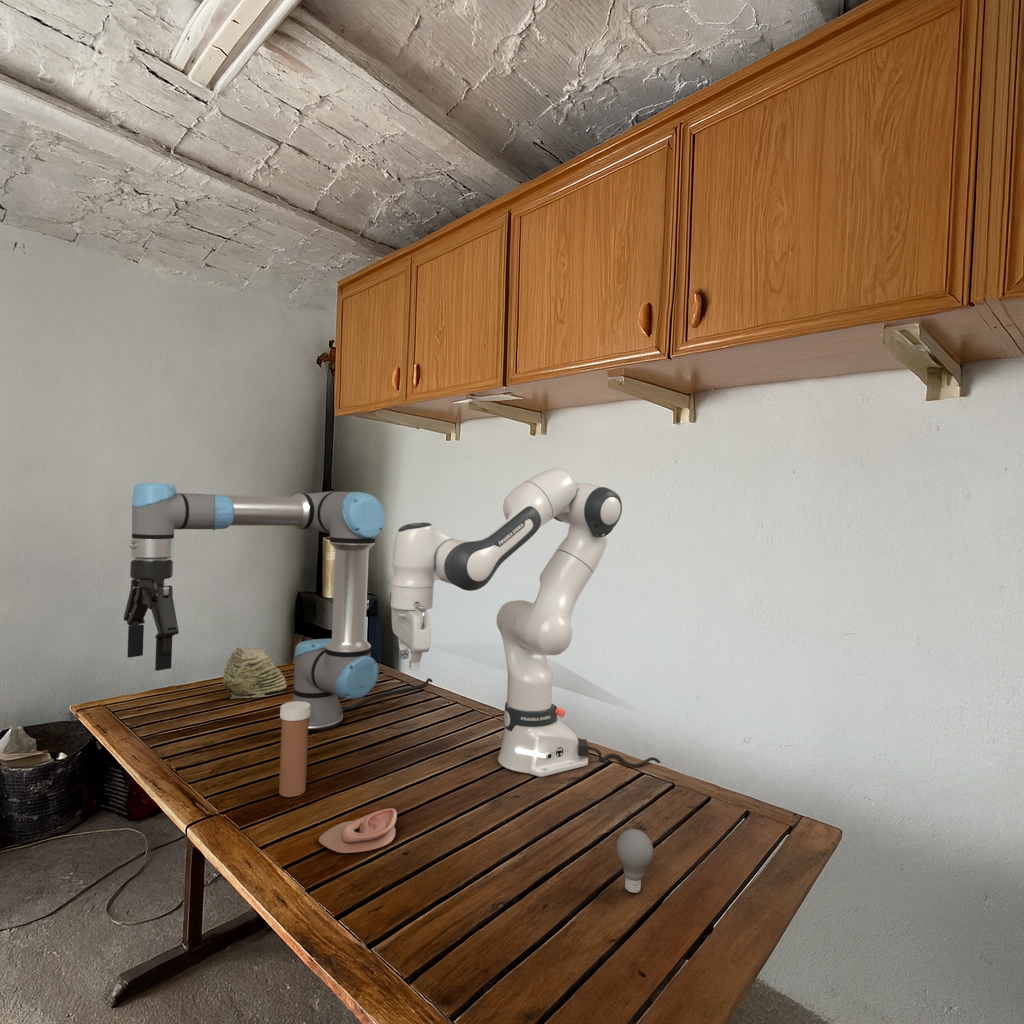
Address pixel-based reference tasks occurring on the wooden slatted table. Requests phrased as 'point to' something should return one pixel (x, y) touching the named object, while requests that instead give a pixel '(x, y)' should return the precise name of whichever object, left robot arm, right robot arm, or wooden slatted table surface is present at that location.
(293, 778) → the jar
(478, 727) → the wooden slatted table surface
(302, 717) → the lid
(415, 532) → the right robot arm
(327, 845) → the anatomical model
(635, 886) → the light bulb
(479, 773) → the wooden slatted table surface
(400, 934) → the wooden slatted table surface
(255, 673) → the fossil
